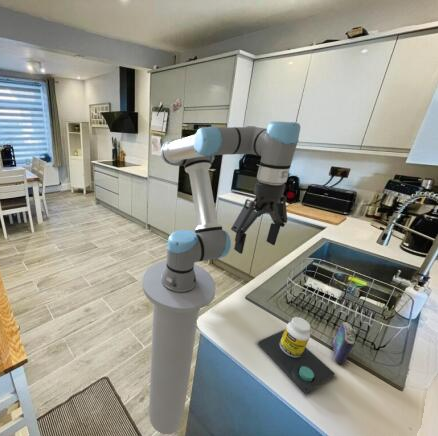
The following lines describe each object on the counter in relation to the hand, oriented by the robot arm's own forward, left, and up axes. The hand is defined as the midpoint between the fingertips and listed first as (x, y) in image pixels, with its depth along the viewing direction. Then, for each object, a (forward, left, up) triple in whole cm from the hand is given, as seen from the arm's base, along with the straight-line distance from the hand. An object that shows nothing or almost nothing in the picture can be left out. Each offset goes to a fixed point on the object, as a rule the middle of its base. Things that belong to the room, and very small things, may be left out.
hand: (254, 247), depth 76 cm
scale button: (+25, 0, -26) cm, 36 cm away
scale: (+20, +3, -29) cm, 35 cm away
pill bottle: (+18, +4, -28) cm, 33 cm away
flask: (+24, +18, -29) cm, 42 cm away
